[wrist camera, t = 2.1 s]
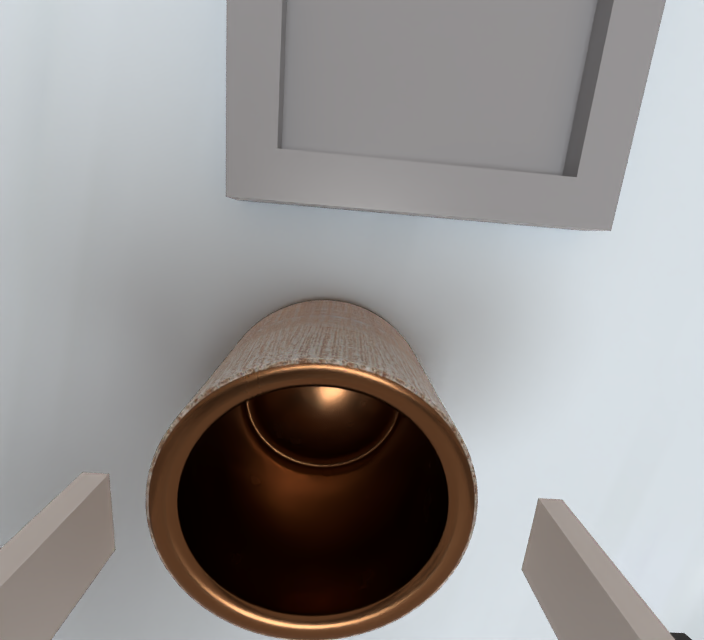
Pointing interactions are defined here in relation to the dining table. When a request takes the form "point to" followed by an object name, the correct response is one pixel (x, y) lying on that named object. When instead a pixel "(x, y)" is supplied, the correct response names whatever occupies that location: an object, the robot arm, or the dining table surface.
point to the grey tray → (438, 106)
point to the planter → (313, 480)
